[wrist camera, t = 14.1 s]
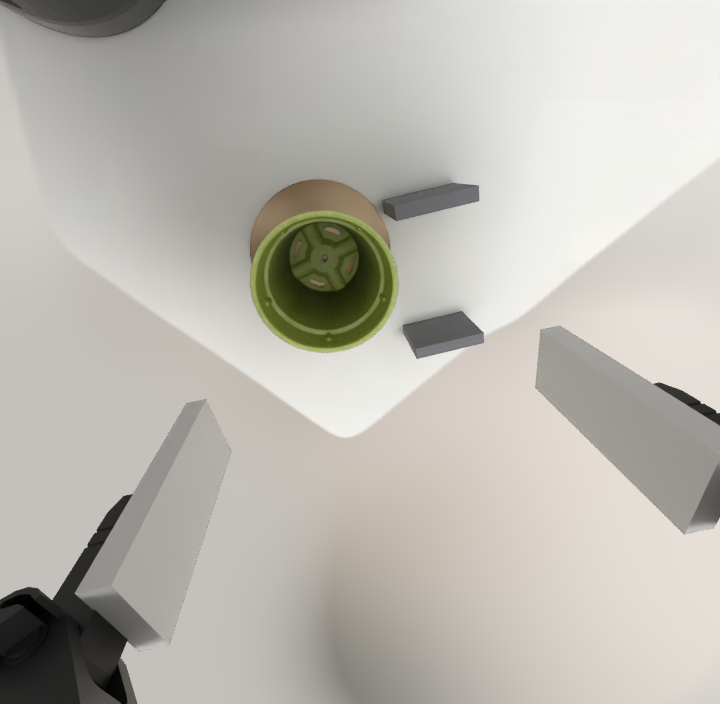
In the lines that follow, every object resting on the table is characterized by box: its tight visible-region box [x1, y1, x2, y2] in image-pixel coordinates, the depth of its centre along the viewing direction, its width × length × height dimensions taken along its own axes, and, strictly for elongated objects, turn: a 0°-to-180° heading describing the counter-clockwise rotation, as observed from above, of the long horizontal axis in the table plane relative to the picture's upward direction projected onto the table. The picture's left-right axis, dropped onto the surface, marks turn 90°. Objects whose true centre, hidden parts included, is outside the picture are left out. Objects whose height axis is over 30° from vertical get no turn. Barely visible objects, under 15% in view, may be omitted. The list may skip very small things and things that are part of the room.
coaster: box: [250, 180, 390, 286], centre depth 29 cm, size 12×12×1 cm
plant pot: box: [250, 210, 398, 353], centre depth 25 cm, size 9×9×9 cm
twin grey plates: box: [382, 183, 484, 359], centre depth 29 cm, size 13×6×5 cm, turn 12°
